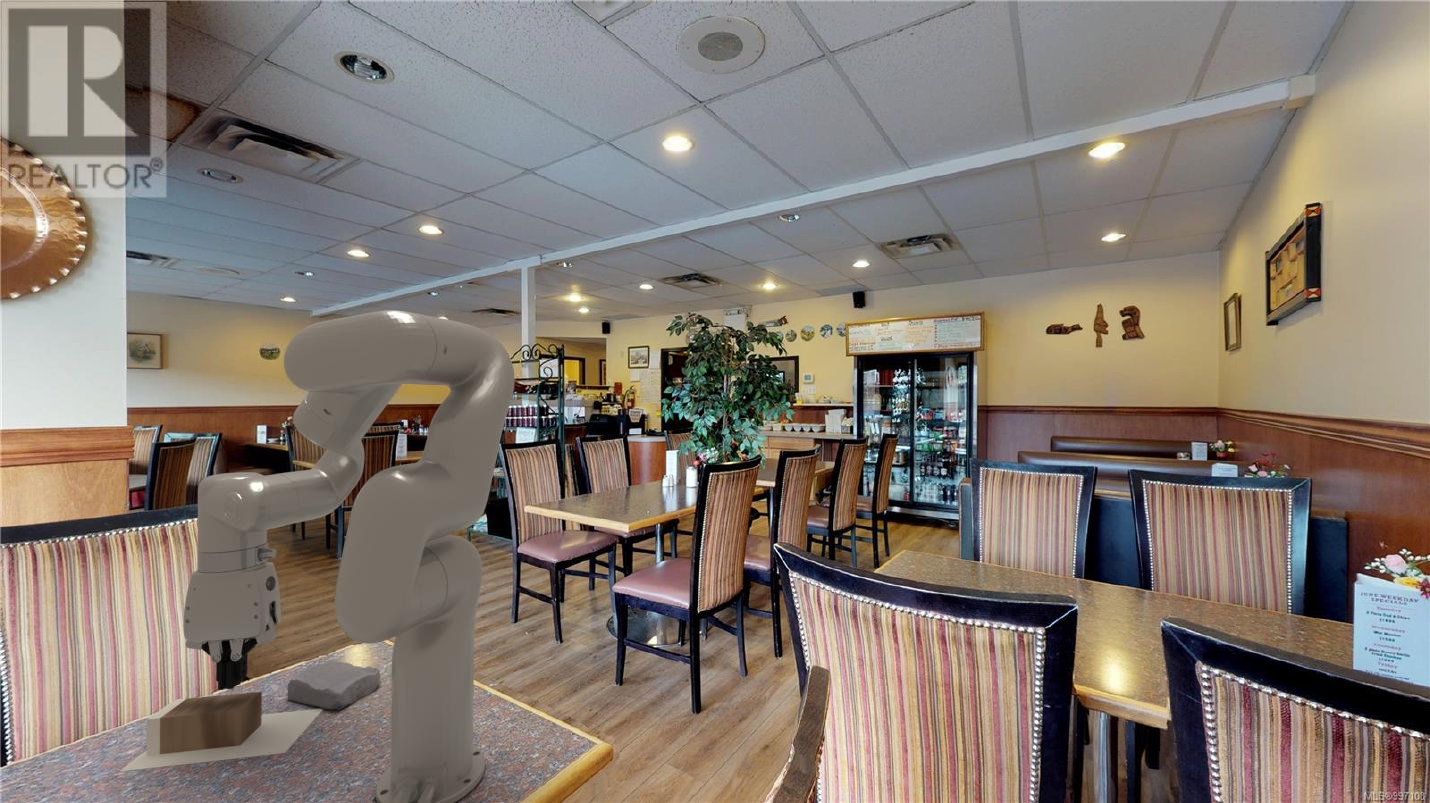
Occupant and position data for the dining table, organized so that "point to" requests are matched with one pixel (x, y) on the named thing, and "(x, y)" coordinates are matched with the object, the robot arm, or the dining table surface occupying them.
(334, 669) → the stone block
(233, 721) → the walnut block
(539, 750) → the dining table surface
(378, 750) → the dining table surface
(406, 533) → the robot arm
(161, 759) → the beige mat
